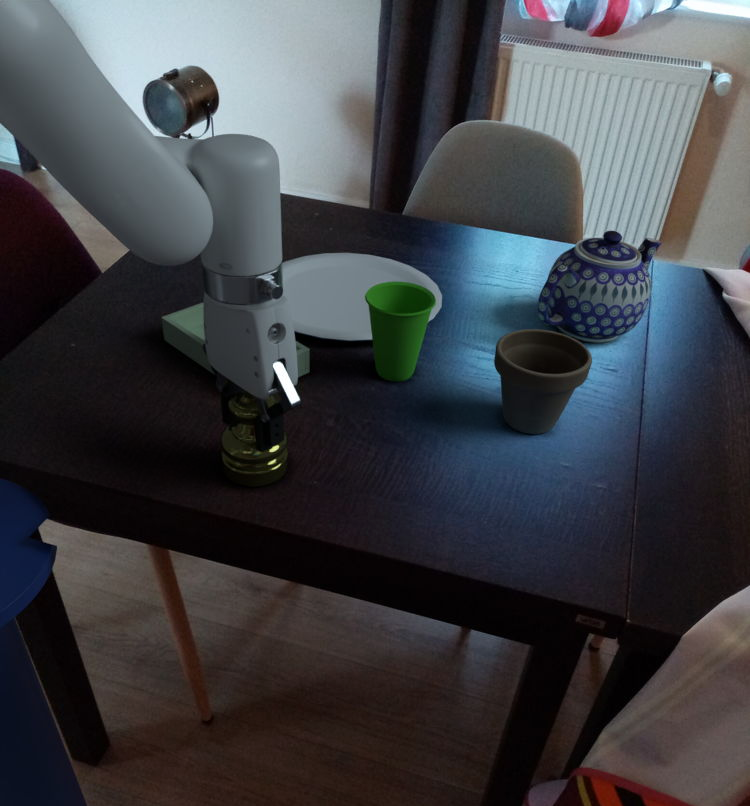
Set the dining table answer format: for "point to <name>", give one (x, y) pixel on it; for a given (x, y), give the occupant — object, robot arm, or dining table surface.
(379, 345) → the cup
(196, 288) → the dining table surface
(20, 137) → the robot arm
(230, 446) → the brass tiered cylinder
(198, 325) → the tray
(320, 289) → the plate
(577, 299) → the teapot
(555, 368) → the flower pot
